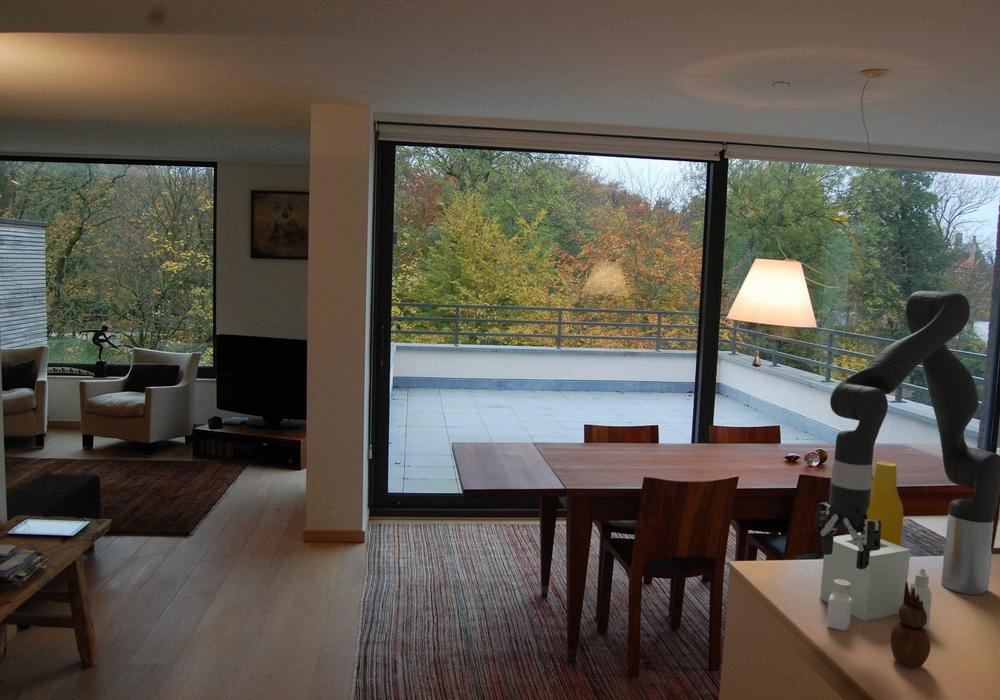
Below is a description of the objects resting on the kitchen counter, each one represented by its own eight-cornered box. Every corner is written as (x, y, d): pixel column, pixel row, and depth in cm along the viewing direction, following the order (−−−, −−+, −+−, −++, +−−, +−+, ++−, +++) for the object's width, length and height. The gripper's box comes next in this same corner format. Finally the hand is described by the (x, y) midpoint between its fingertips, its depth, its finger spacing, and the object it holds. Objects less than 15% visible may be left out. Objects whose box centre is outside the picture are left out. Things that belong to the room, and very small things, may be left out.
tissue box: (858, 591, 183) (863, 532, 181) (904, 612, 172) (910, 549, 171) (820, 598, 178) (825, 537, 176) (865, 620, 167) (871, 556, 165)
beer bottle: (846, 582, 188) (857, 462, 185) (863, 573, 195) (874, 457, 192) (886, 595, 182) (898, 470, 179) (903, 585, 188) (914, 465, 185)
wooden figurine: (882, 654, 152) (890, 578, 150) (911, 654, 152) (919, 579, 151) (903, 672, 145) (911, 593, 144) (933, 672, 146) (941, 593, 144)
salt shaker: (850, 626, 164) (854, 581, 163) (846, 633, 161) (850, 587, 160) (829, 620, 166) (833, 576, 165) (825, 627, 163) (829, 582, 162)
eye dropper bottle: (930, 622, 167) (936, 567, 166) (927, 631, 163) (933, 575, 162) (907, 616, 170) (913, 562, 169) (903, 625, 165) (909, 569, 164)
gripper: (894, 491, 156) (886, 571, 157) (835, 473, 168) (828, 547, 170) (867, 494, 152) (859, 576, 154) (809, 475, 165) (803, 551, 167)
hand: (843, 561), depth 162 cm, fingers open, 8 cm apart
